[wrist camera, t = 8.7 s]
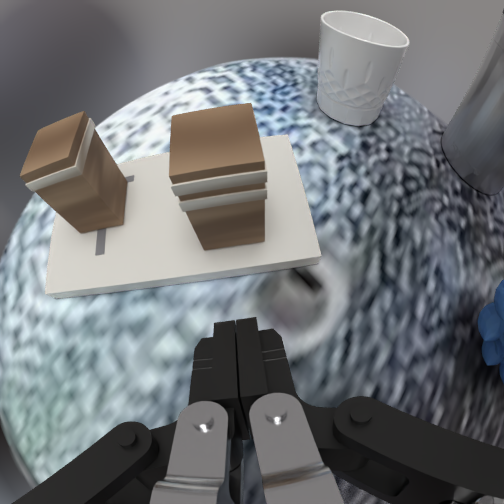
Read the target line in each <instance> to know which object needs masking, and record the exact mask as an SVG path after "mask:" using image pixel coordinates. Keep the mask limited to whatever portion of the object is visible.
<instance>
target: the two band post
mask: <svg viewBox="0 0 504 504" xmlns="http://www.w3.org/2000/svg"><path fill="white" fill-rule="evenodd" d="M267 172H268V171H267V167H266V162H265V158H264V154H263V149H262V145H261V141H260V136H259V132H258V128H257V124H256V119H255V115H254V111H253V108H252V104H251V103H246V104H238V105H231V106H224V107H217V108H211V109H205V110H199V111H194V112H188V113H183V114H178V115H174V116H172V121H171V137H170V157H169V178H170V187H171V189H172V191H173V193H174V195H175V197H176V196H178V204H179V206H180V208H181V210H182V212H186V214H187V216H188V218H189V221H190V223H191V225H192V227H193V229H194V231H195V233H196V235H197V237H198V239H199V241H200V243H201V245H202V247H203V249H204V250H210V249H217V248H223V247H230V246H237V245H244V244H251V243H258V242H264V241H265V199H267V186H266V182H267Z"/></svg>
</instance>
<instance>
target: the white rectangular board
mask: <svg viewBox="0 0 504 504" xmlns="http://www.w3.org/2000/svg"><path fill="white" fill-rule="evenodd" d="M260 141H261V145H262V149H263V154H264V158H265V162H266V167H267V171H268V172H267V182H266V186H267V199H265V241H264V242H258V243H251V244H244V245H237V246H230V247H223V248H217V249H210V250H204V249H203V247H202V245H201V243H200V241H199V239H198V237H197V235H196V233H195V231H194V229H193V227H192V225H191V223H190V221H189V218H188V216H187V214H186V212H182V210H181V208H180V206H179V204H178V196H176V197H175V195H174V193H173V191H172V189H171V187H170V178H169V157H170V152H167V153H162V154H158V155H153V156H149V157H144V158H140V159H136V160H132V161H128V162H124V163H120V164H117V166H118V168H119V169H120V171H121V172H122V174H123V175H124V177H125V178H126V180H127V189H126V199H125V209H124V222H123V225H118V226H113V227H108V228H103V229H99V230H94V231H89V232H85V233H79V232H78V231H77V230H76V229H75V228H74V227H73V226H71V225H70V224H69V223H68V222H67V221H66V220H65V219H64V218H63V217H61V216H60V215H59V214H58V213H57V212H56V215H55V220H54V225H53V231H52V237H51V243H50V250H49V258H48V266H47V276H46V287H45V294H46V295H48V296H51V297H53V298H55V299H58V298H68V297H77V296H86V295H95V294H104V293H112V292H121V291H129V290H137V289H145V288H153V287H161V286H169V285H176V284H184V283H191V282H199V281H206V280H213V279H220V278H227V277H234V276H241V275H248V274H255V273H262V272H269V271H275V270H282V269H288V268H295V267H301V266H308V265H314V264H318V262H319V260H320V258H321V252H320V248H319V244H318V240H317V236H316V232H315V228H314V224H313V220H312V216H311V213H310V209H309V205H308V201H307V198H306V194H305V191H304V187H303V184H302V180H301V177H300V173H299V170H298V167H297V163H296V160H295V157H294V153H293V150H292V147H291V144H290V141H289V137H288V135H278V136H268V137H260Z"/></svg>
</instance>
